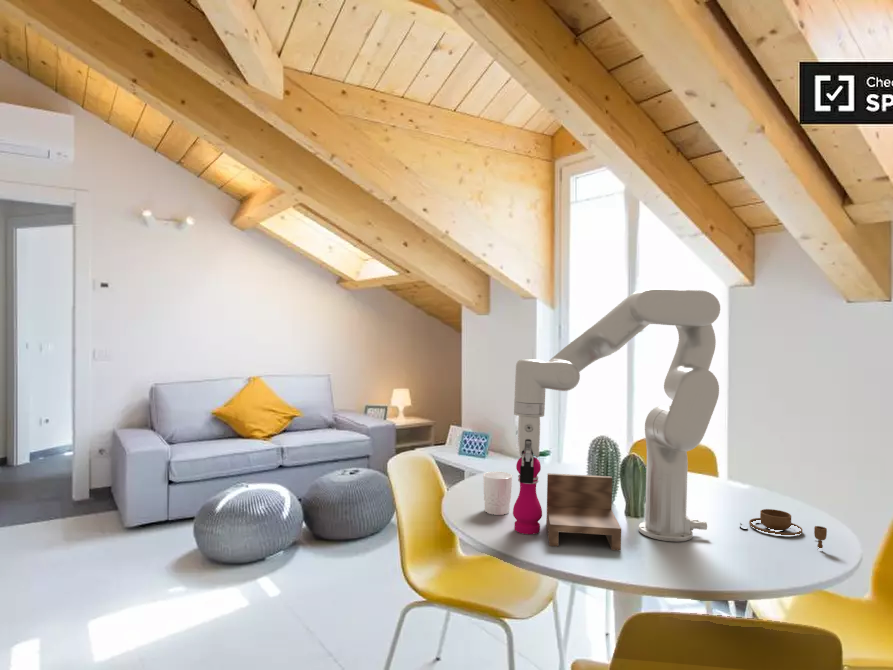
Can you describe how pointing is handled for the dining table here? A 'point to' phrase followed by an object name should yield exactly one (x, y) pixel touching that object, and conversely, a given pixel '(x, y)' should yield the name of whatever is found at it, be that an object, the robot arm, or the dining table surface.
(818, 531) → the place setting
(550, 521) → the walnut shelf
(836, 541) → the dining table surface
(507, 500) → the white cup
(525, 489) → the pepper mill
